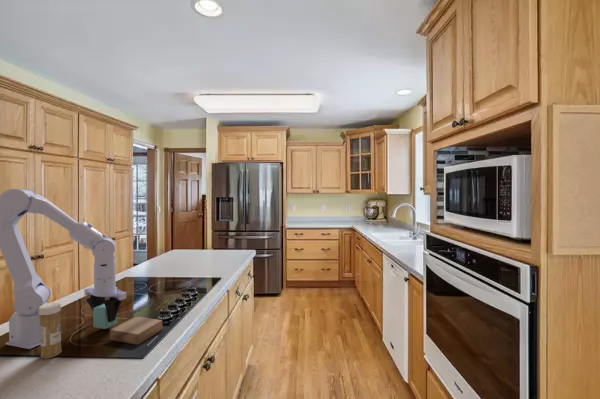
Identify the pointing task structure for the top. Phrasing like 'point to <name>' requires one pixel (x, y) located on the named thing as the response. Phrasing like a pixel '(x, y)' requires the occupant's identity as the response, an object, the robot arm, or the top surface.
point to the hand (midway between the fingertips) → (105, 319)
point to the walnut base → (136, 330)
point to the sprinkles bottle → (50, 330)
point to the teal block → (101, 317)
